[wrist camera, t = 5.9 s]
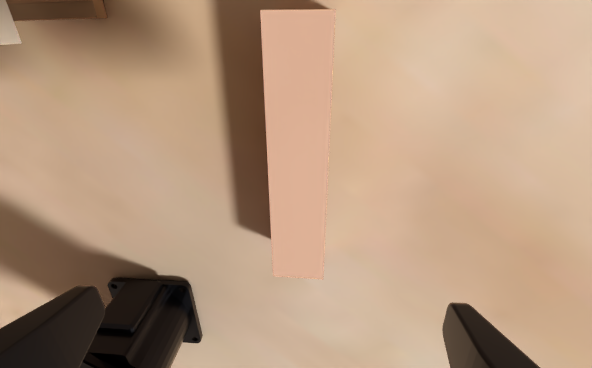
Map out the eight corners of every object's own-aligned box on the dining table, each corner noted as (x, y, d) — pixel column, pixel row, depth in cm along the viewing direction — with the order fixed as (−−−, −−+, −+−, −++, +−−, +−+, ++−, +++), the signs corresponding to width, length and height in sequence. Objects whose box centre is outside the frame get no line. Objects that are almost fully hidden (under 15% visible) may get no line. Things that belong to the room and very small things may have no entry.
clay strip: (324, 242, 22) (323, 279, 19) (281, 240, 22) (272, 276, 19) (334, 11, 16) (335, 9, 12) (273, 12, 16) (260, 9, 13)
